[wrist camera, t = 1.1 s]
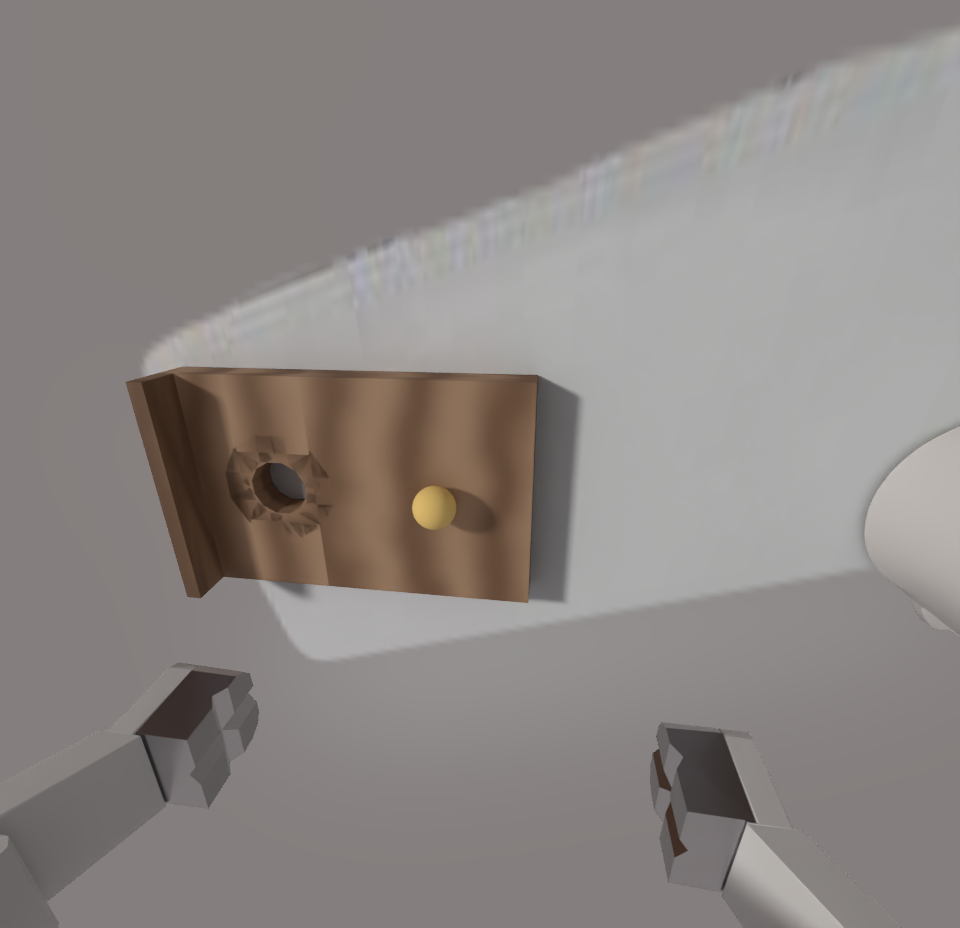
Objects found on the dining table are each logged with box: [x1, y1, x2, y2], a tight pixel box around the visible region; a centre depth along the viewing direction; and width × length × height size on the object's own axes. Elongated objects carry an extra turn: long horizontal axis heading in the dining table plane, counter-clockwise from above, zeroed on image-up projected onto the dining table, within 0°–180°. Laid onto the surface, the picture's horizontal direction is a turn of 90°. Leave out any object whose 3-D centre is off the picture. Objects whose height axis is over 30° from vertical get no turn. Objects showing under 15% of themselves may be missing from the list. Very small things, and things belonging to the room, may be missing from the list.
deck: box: [126, 367, 538, 603], centre depth 37 cm, size 28×18×6 cm, turn 90°
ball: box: [412, 486, 456, 530], centre depth 35 cm, size 3×3×3 cm
